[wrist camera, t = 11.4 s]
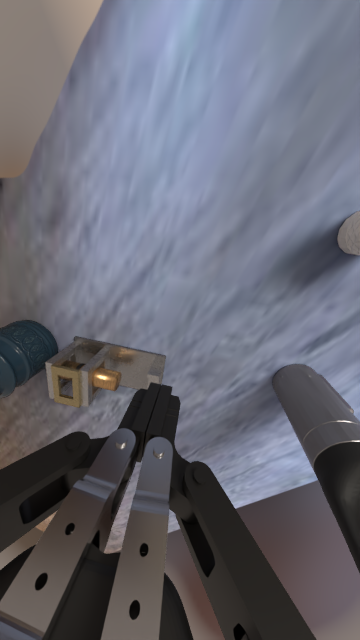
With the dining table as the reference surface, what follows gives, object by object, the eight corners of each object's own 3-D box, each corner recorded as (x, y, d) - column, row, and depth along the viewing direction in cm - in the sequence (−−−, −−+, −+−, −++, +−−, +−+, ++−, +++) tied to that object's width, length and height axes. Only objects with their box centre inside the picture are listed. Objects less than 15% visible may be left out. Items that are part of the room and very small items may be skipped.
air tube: (122, 367, 42) (113, 380, 38) (121, 382, 43) (112, 395, 40) (67, 355, 43) (53, 366, 39) (68, 370, 44) (55, 382, 40)
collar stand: (165, 355, 43) (155, 385, 34) (160, 392, 47) (148, 427, 38) (75, 336, 44) (41, 359, 35) (77, 373, 49) (46, 403, 39)
